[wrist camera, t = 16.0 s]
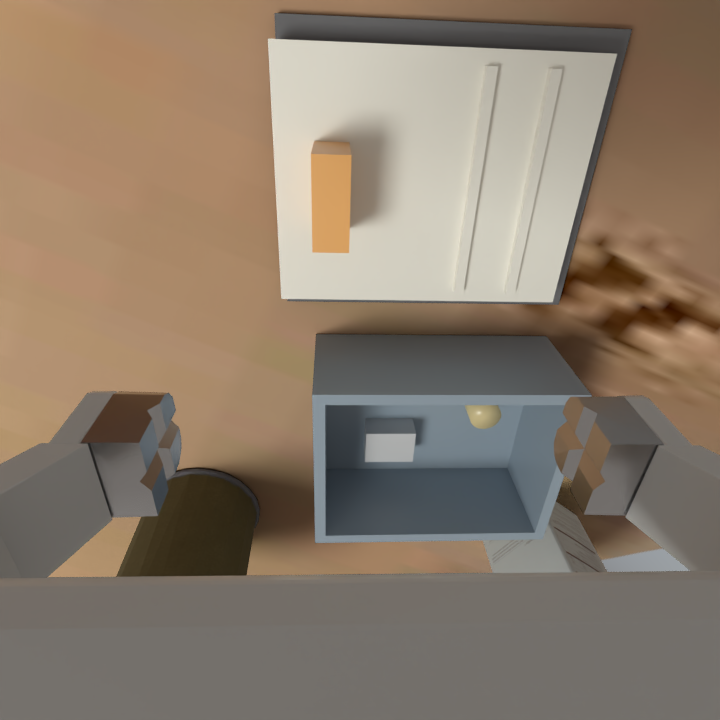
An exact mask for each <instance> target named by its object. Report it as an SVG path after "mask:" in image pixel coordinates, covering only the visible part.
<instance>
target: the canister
mask: <svg viewBox="0 0 720 720" xmlns="http://www.w3.org/2000/svg"><path fill="white" fill-rule="evenodd" d="M167 485H168V492H167V495H166V497H165V500H164V502H163V505H162V507H161V510H160V512H159V515H158V516H144V517H141V519H140V522H139V524H138V526H137V529H136V531H135V533H134V536H133V538H132V541H131V543H130V545H129V548H128V550H127V552H126V555H125V557H124V560H123V562H122V564H121V567H120V569H119V571H118V574H117V576H116V577H140V576H242V575H246V574H247V568H248V562H249V556H250V550H251V544H252V538H253V533H254V528H255V527H256V525H257V523H258V520H259V511H260V509H259V506H258V502H257V498H256V497H255V496H254V494H253V493H252V492H251V490H250V489H249V488H248V487H247V486H245V485H244V484H243V483H242V482H241V481H239V480H237V479H236V478H234V477H232V476H231V475H228V474H225V473H223V472H218V471H213V470H207V469H186V470H181V471H178V472H175V474H173V475H172V476H171V477H169V478H168V479H167Z"/></svg>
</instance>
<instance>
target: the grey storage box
mask: <svg viewBox="0 0 720 720" xmlns="http://www.w3.org/2000/svg"><path fill="white" fill-rule="evenodd" d="M591 396H592V395H591V394H590V392H589V391H588V390H587V388H586V387H585V386H584V385H583V383H582V382H581V381H580V379H579V378H578V377H577V375H576V374H575V373H574V372H573V370H572V369H571V368H570V366H569V365H568V364H567V363H566V361H565V360H564V359H563V357H562V356H561V355H560V353H559V352H558V351H557V350H556V348H555V347H554V346H553V344H552V343H551V342H550V340H549V339H548V338H547V337H546V336H472V335H358V334H316V345H315V361H314V377H313V393H312V402H313V455H314V508H315V543H340V542H404V541H469V540H534V539H543V537H544V534H545V531H546V528H547V525H548V522H549V519H550V516H551V513H552V510H553V507H554V505H555V502H556V499H557V496H558V493H559V490H560V487H561V484H562V481H563V478H564V475H563V474H562V473H561V472H560V470H559V468H558V466H557V463H556V460H555V456H554V440H555V436H556V432H557V429H558V428H560V427H561V426H562V425H563V424H564V423H565V422H567V420H566V418H565V416H564V415H563V410H564V407H565V404H566V402H567V400H568V399H569V398H570V397H591Z"/></svg>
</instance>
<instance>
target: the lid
mask: <svg viewBox="0 0 720 720" xmlns="http://www.w3.org/2000/svg"><path fill="white" fill-rule="evenodd" d="M268 50H269V69H270V88H271V107H272V127H273V146H274V165H275V184H276V203H277V223H278V242H279V261H280V280H281V299H332V300H409V301H486V302H553V299H554V295H555V291H556V287H557V283H558V280H559V276H560V272H561V268H562V264H563V260H564V257H565V253H566V249H567V245H568V241H569V237H570V233H571V230H572V226H573V222H574V218H575V214H576V210H577V207H578V203H579V199H580V195H581V191H582V187H583V183H584V180H585V176H586V172H587V168H588V164H589V160H590V157H591V153H592V149H593V145H594V141H595V137H596V133H597V130H598V126H599V122H600V118H601V114H602V110H603V106H604V103H605V99H606V95H607V91H608V87H609V83H610V80H611V76H612V72H613V68H614V64H615V60H616V56H617V54H612V53H589V52H566V51H542V50H519V49H496V48H473V47H450V46H426V45H403V44H380V43H357V42H333V41H310V40H287V39H268Z"/></svg>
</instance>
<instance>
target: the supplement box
mask: <svg viewBox="0 0 720 720" xmlns="http://www.w3.org/2000/svg"><path fill="white" fill-rule="evenodd" d="M483 543H484V546H485V549H486V552H487V555H488V559H489V562H490V565H491V568H492V571H493V573H551V572H607V570H606V569H605V567H604V565H603V563H602V561H601V559H600V557H599V556H598V554H597V552H596V550H595V548H594V546H593V545H592V543H591V541H590V539H589V537H588V535H587V533H586V531H585V529H584V528H583V526H582V524H581V522H580V520H579V519H578V517H577V515H575V514H574V513H572V512H571V511H569V510H568V509H567V508H565V507H563V506H562V505H560V504H559V503H557V502H555V505H554V507H553V510H552V513H551V516H550V519H549V522H548V525H547V528H546V531H545V534H544V537H543V539H534V540H483Z"/></svg>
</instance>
